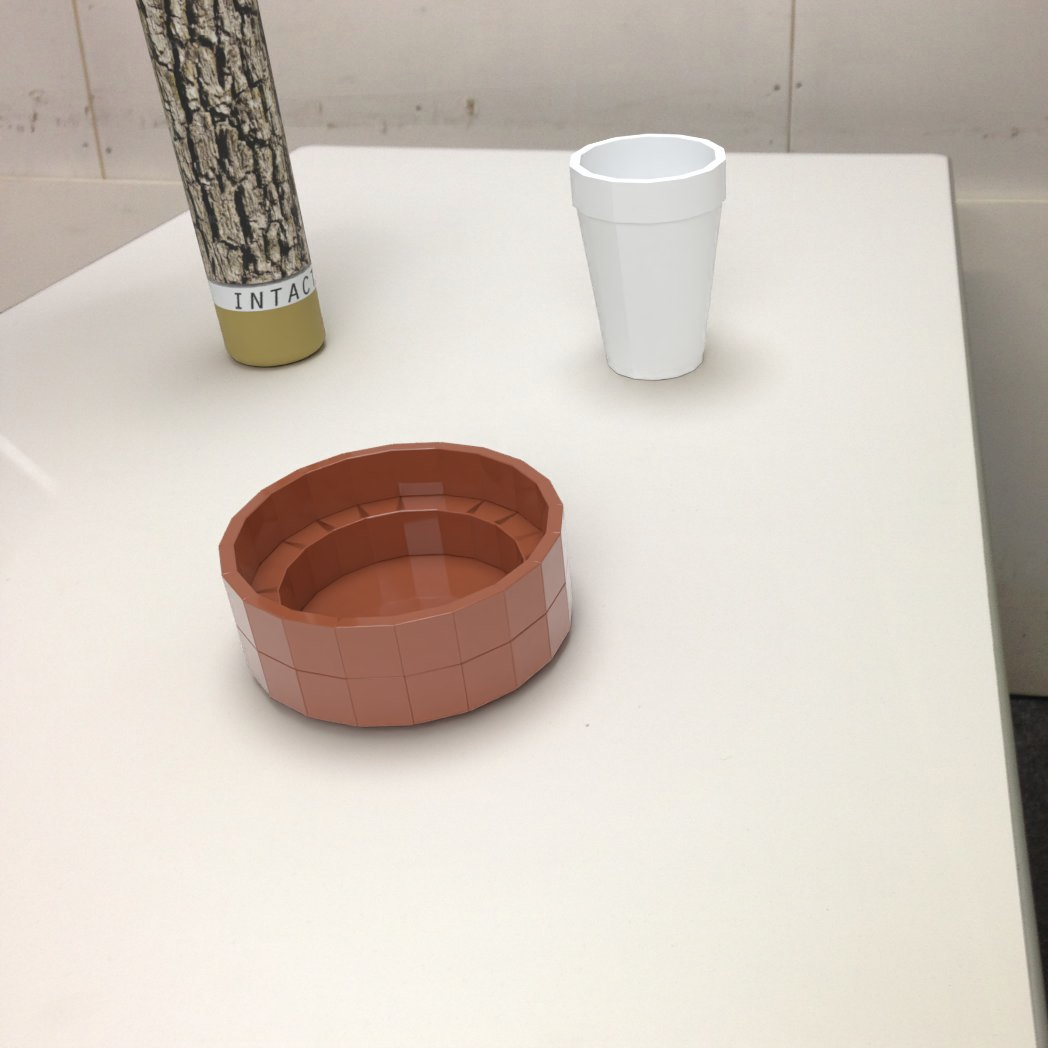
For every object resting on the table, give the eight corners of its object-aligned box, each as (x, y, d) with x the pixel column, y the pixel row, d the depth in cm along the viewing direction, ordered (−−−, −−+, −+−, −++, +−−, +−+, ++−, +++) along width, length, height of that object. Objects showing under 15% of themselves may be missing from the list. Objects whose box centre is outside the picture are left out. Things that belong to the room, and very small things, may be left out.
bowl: (212, 743, 56) (176, 633, 52) (289, 548, 68) (263, 448, 64) (565, 731, 55) (553, 619, 52) (578, 537, 68) (569, 436, 64)
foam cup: (738, 333, 87) (738, 135, 79) (713, 395, 80) (711, 185, 72) (603, 325, 89) (590, 132, 81) (567, 385, 82) (549, 179, 74)
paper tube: (209, 350, 88) (101, -56, 73) (295, 320, 92) (209, -73, 77) (258, 380, 84) (155, -43, 69) (346, 347, 88) (266, -63, 73)
